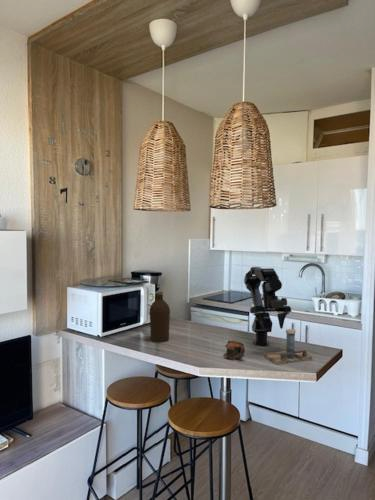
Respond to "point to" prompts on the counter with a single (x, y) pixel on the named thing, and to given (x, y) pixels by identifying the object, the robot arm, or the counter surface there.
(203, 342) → the counter surface
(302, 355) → the board
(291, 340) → the spool
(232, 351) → the pottery mug
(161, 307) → the olive oil
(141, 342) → the counter surface
